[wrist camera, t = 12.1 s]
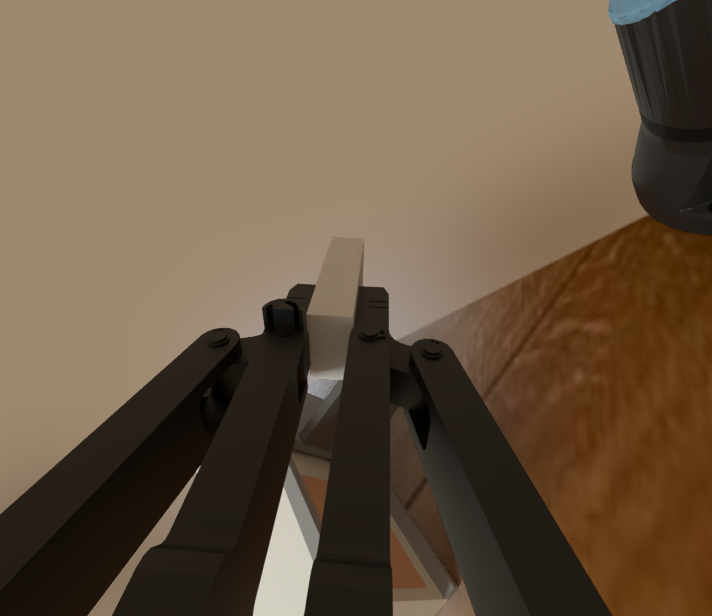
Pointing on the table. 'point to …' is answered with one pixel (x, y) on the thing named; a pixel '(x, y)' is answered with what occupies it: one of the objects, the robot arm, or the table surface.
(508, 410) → the table surface
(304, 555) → the housing
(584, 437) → the table surface
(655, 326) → the table surface
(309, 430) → the side door
